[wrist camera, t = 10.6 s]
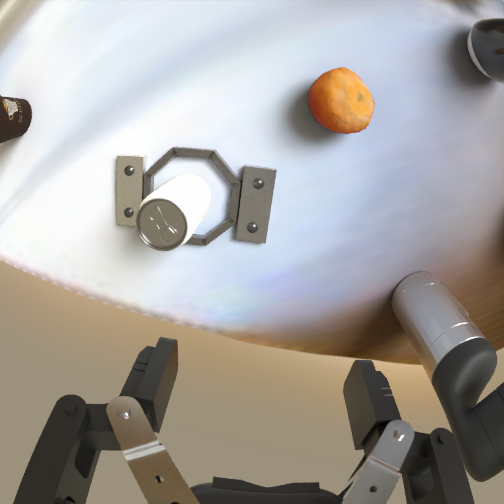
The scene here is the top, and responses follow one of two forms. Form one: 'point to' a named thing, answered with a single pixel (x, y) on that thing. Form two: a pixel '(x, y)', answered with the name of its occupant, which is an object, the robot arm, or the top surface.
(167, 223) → the can
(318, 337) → the top surface
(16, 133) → the coffee mug
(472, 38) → the pump dispenser
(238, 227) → the octagonal ring bracket
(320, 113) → the fruit
